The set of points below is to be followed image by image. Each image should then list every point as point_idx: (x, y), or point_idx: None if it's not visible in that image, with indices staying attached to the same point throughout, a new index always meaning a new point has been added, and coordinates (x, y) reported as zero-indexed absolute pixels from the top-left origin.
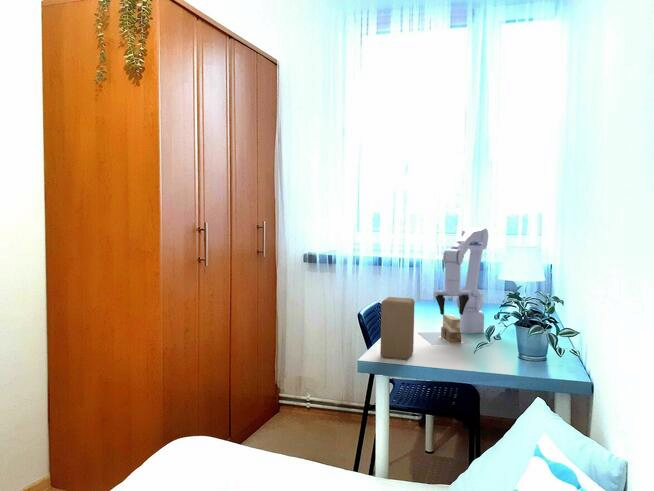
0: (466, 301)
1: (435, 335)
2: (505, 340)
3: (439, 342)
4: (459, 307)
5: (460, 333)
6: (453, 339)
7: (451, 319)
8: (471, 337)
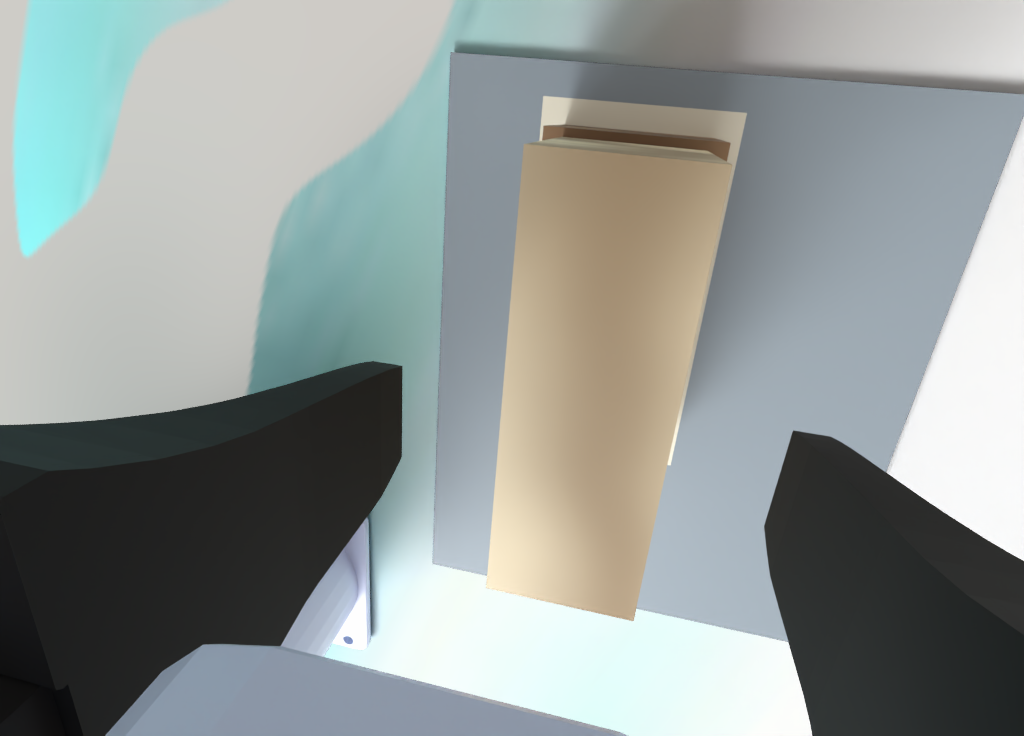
0: (66, 428)
1: (687, 500)
2: (60, 181)
3: (842, 185)
4: (340, 543)
5: (560, 127)
6: (668, 134)
7: (727, 178)
8: (341, 366)
